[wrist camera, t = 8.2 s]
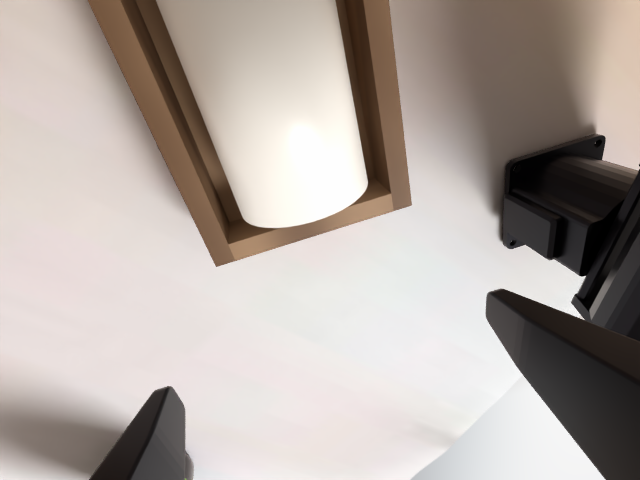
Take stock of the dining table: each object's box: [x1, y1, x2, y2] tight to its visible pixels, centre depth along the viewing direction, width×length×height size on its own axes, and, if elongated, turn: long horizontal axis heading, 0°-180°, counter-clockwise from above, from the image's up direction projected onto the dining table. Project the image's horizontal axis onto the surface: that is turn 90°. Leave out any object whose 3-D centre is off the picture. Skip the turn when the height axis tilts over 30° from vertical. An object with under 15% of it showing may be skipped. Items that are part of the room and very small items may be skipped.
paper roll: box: [156, 0, 368, 228], centre depth 14 cm, size 10×6×6 cm, turn 13°
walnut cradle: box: [88, 0, 412, 267], centre depth 16 cm, size 10×14×3 cm
